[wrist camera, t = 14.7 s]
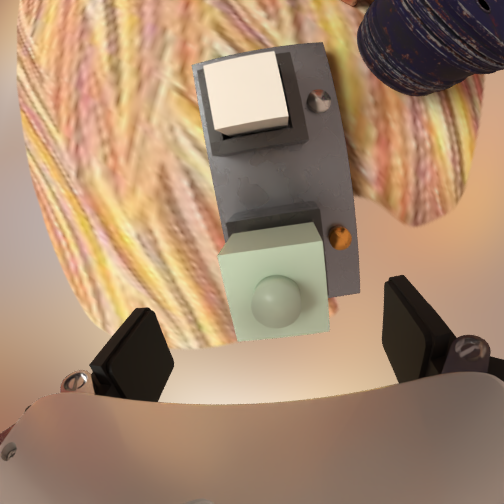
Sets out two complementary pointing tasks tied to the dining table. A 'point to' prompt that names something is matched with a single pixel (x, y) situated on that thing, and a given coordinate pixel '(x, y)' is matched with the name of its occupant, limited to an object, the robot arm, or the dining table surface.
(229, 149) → the breaker board
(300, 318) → the cap
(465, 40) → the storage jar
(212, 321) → the dining table surface
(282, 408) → the robot arm
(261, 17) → the dining table surface
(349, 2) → the orange fan heater
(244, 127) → the breaker button
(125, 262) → the dining table surface
